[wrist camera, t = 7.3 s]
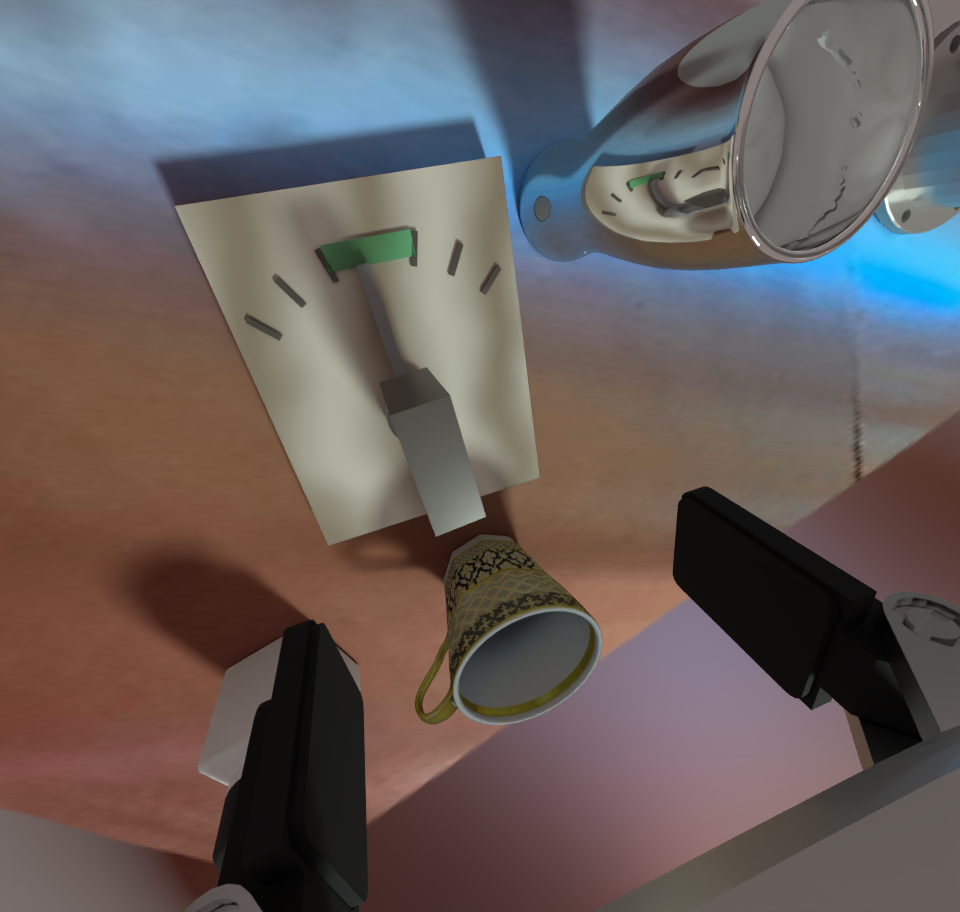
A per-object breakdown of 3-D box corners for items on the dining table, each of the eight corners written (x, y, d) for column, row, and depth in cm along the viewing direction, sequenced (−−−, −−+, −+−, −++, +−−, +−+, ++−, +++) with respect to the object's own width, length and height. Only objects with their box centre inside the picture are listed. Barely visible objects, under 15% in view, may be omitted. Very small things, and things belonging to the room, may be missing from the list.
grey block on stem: (392, 255, 20) (419, 248, 13) (451, 444, 25) (494, 513, 18) (330, 273, 20) (322, 275, 12) (403, 462, 25) (427, 540, 18)
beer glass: (487, 189, 22) (692, 77, 9) (583, 99, 22) (939, -152, 9) (551, 294, 26) (765, 320, 13) (635, 218, 25) (944, 165, 12)
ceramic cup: (508, 492, 31) (572, 578, 22) (554, 569, 36) (621, 664, 27) (365, 583, 31) (374, 708, 22) (432, 648, 36) (460, 771, 27)
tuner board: (488, 164, 22) (502, 154, 20) (528, 465, 30) (540, 478, 29) (190, 211, 19) (172, 205, 17) (329, 528, 28) (328, 547, 26)
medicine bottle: (286, 711, 33) (260, 910, 23) (223, 668, 30) (159, 882, 19) (361, 665, 34) (369, 841, 23) (308, 618, 30) (290, 801, 20)
